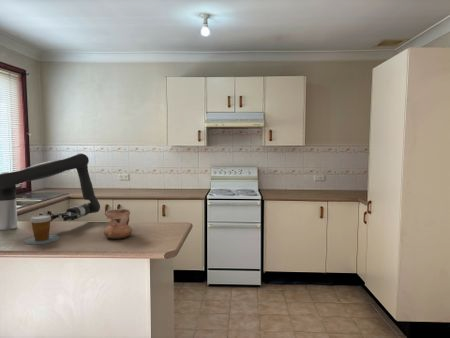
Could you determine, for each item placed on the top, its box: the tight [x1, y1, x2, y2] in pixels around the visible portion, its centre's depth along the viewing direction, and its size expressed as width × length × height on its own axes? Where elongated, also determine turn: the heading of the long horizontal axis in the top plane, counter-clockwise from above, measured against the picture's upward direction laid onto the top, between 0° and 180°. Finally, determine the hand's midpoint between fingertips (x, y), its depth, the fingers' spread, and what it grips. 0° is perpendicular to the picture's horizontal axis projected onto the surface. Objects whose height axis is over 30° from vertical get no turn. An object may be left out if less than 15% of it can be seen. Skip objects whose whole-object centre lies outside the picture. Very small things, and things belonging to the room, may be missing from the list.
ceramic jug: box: [103, 208, 133, 240], centre depth 174 cm, size 18×14×14 cm
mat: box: [24, 234, 61, 246], centre depth 169 cm, size 16×16×1 cm
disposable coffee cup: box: [30, 214, 52, 241], centre depth 168 cm, size 10×10×12 cm
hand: (57, 218), depth 181 cm, fingers open, 8 cm apart
